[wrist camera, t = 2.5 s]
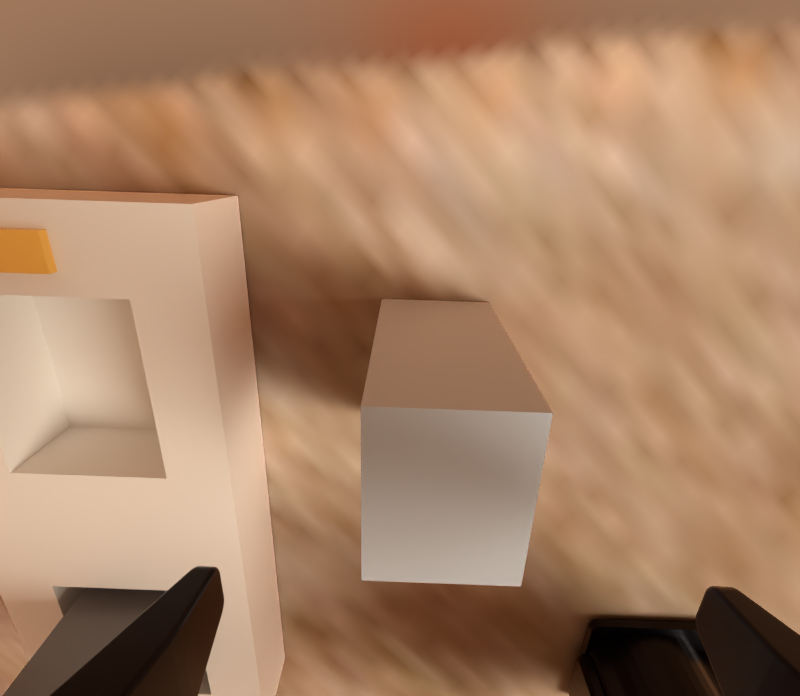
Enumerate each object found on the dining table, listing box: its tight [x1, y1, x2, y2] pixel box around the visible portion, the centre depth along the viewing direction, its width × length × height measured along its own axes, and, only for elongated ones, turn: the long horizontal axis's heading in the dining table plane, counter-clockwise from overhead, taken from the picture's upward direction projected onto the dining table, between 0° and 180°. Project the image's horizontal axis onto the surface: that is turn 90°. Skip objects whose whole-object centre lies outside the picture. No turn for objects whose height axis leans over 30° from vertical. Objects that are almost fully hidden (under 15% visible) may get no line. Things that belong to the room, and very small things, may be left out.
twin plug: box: [3, 587, 166, 696], centre depth 18 cm, size 4×5×8 cm
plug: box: [361, 299, 553, 586], centre depth 14 cm, size 4×5×8 cm
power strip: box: [0, 188, 285, 696], centre depth 18 cm, size 10×24×4 cm, turn 178°
